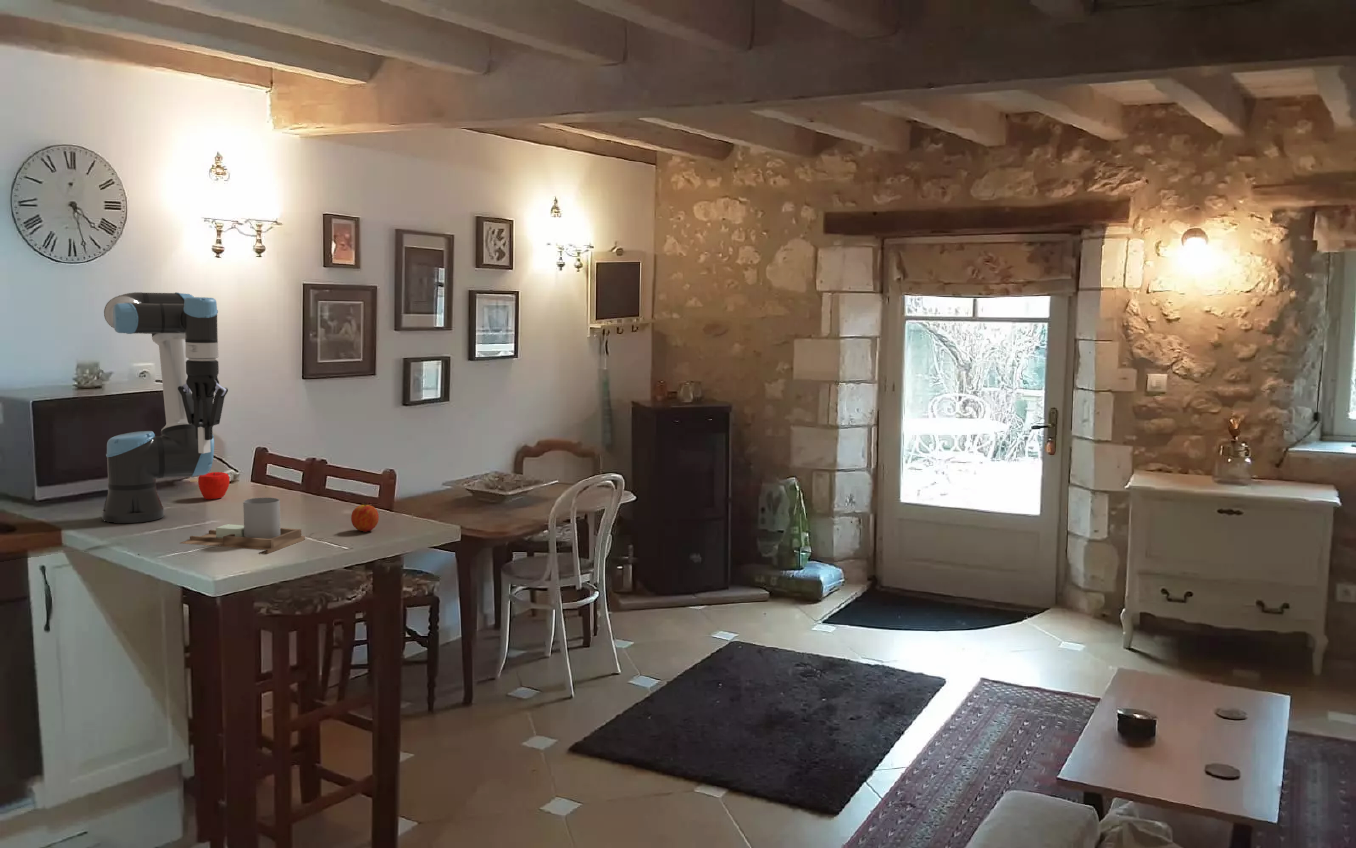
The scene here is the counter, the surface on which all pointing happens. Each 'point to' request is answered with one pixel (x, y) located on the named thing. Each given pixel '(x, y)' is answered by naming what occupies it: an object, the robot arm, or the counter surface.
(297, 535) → the jig
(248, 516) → the cup
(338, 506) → the counter surface
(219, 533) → the pale green block
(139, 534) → the counter surface
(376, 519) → the fruit
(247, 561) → the counter surface
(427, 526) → the counter surface
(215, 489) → the apple
